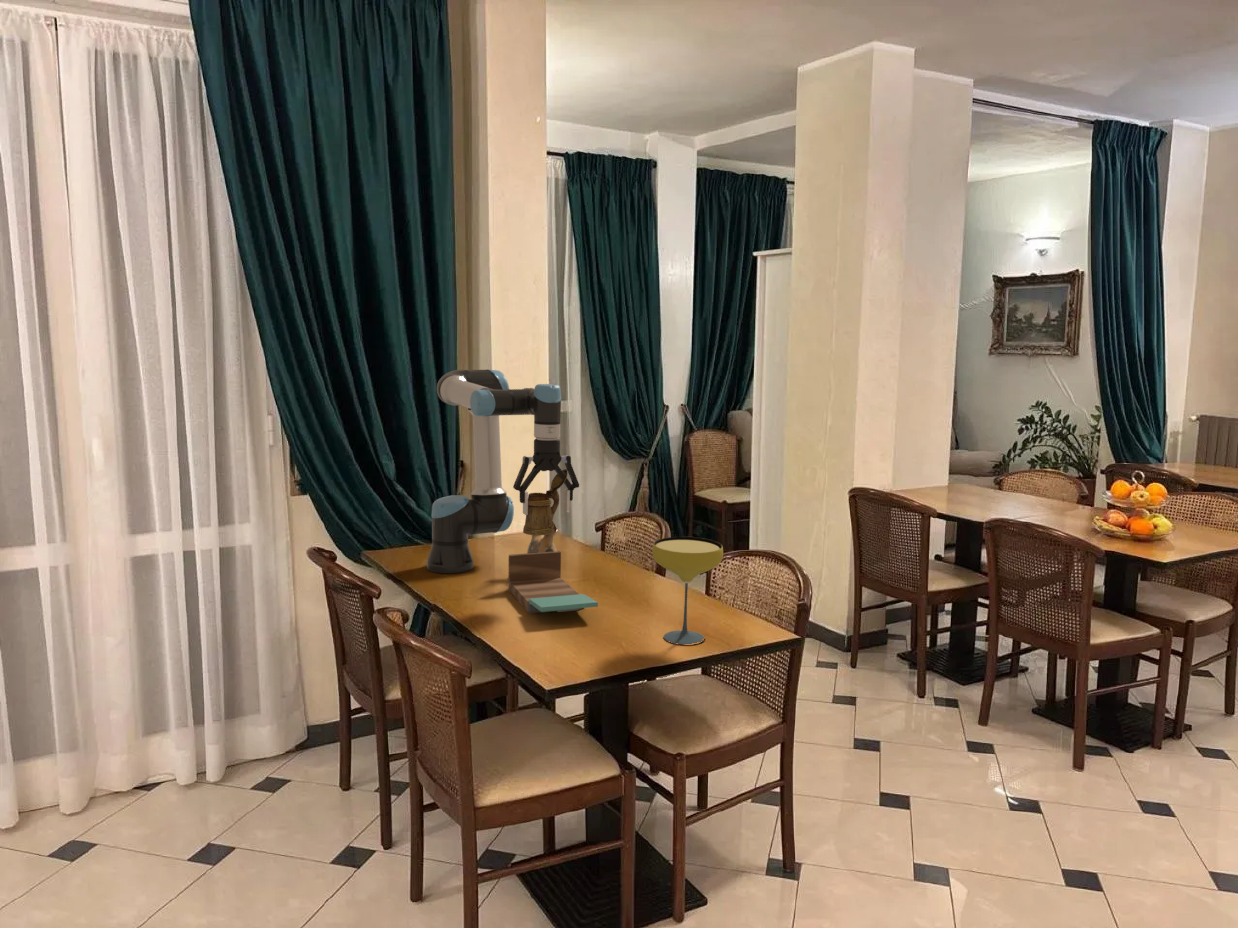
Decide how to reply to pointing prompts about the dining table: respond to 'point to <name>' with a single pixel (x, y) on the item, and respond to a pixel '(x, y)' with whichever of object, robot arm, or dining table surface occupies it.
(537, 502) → the wooden mug
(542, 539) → the ceramic vessel
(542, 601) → the panel
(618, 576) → the dining table surface
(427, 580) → the dining table surface
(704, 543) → the cocktail glass
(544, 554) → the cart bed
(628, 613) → the dining table surface
